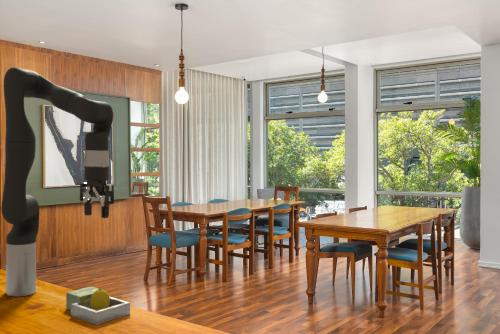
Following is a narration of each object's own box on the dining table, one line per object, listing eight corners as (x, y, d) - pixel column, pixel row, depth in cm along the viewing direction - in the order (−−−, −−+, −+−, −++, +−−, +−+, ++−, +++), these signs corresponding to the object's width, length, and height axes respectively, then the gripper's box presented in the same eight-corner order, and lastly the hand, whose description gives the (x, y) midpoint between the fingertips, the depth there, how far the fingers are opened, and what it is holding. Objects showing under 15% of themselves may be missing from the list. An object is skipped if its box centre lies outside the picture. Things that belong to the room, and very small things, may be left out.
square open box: (57, 311, 155) (57, 294, 155) (91, 301, 165) (91, 286, 165) (96, 324, 144) (96, 307, 144) (129, 314, 153) (130, 297, 153)
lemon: (104, 318, 149) (104, 291, 149) (86, 317, 150) (86, 290, 150) (113, 312, 154) (113, 286, 154) (96, 311, 156) (96, 285, 155)
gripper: (72, 164, 161) (72, 215, 162) (100, 166, 153) (100, 220, 153) (92, 164, 167) (92, 213, 168) (121, 165, 159) (120, 217, 159)
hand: (96, 216), depth 160 cm, fingers open, 8 cm apart
